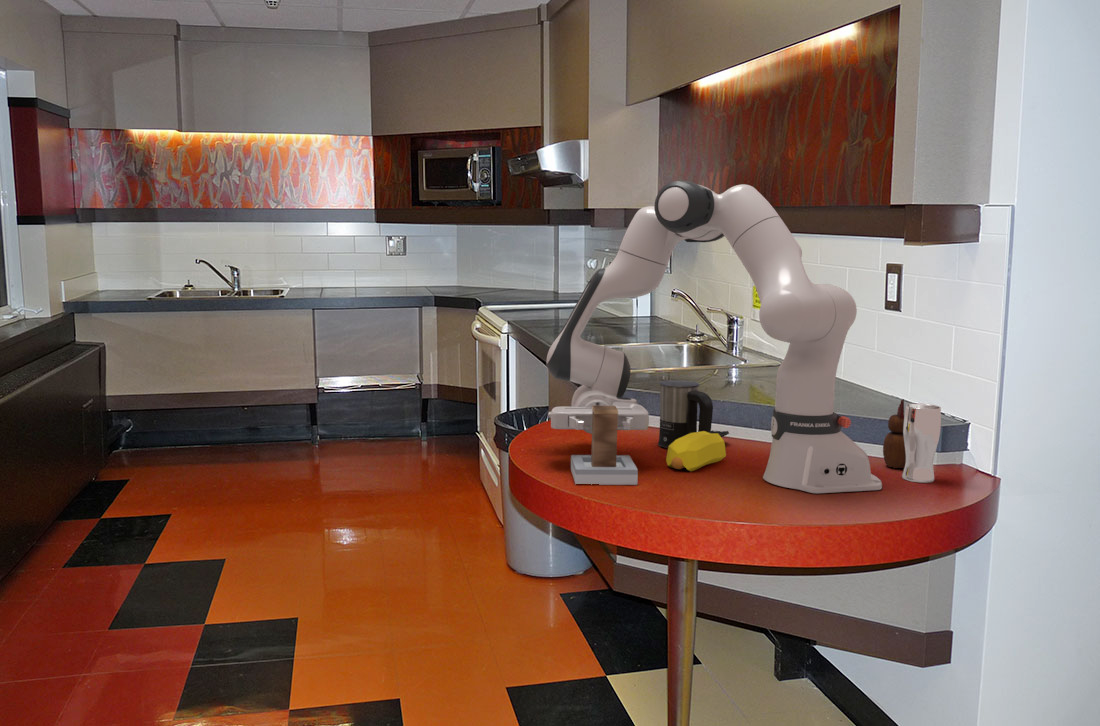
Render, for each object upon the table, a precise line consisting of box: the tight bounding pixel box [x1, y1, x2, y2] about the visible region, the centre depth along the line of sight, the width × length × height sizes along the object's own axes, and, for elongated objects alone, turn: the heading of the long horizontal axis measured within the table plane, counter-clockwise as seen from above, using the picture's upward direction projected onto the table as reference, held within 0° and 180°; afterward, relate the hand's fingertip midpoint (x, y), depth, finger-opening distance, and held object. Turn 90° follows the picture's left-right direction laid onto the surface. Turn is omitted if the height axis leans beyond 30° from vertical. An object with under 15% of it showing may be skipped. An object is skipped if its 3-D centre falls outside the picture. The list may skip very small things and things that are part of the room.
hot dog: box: [665, 431, 727, 472], centre depth 195 cm, size 18×7×8 cm
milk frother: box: [657, 380, 730, 449], centre depth 213 cm, size 14×16×15 cm
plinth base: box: [570, 454, 639, 486], centre depth 183 cm, size 12×12×3 cm
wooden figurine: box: [882, 398, 905, 469], centre depth 195 cm, size 7×6×15 cm
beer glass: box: [901, 402, 942, 484], centre depth 185 cm, size 7×7×15 cm
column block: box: [590, 406, 618, 467], centre depth 182 cm, size 5×5×12 cm
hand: (603, 426), depth 183 cm, fingers open, 8 cm apart
